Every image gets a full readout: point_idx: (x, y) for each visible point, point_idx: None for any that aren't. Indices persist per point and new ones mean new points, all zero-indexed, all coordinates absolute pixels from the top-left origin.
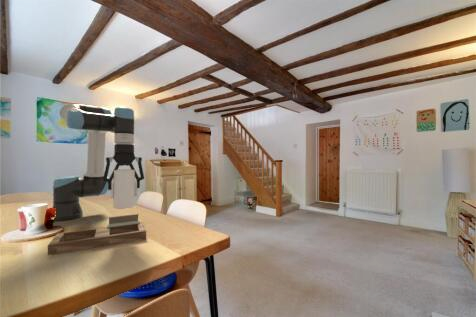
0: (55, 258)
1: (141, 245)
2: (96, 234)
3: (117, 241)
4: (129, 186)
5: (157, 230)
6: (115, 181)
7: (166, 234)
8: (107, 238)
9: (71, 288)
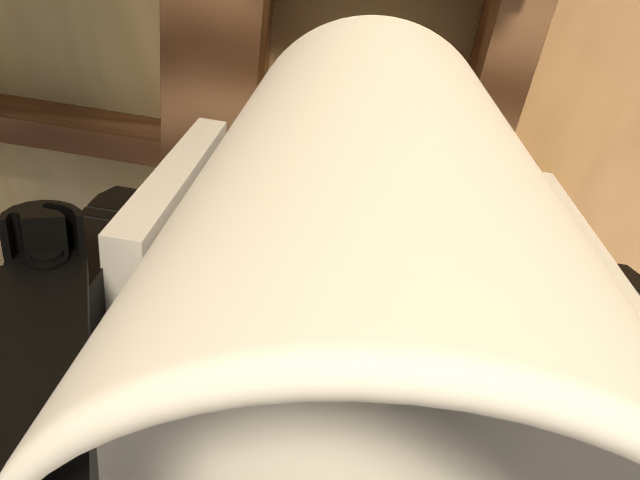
0: (19, 178)
1: None
2: (170, 84)
3: None
4: (410, 423)
5: (633, 55)
6: (174, 422)
7: (625, 188)
8: None
9: None
